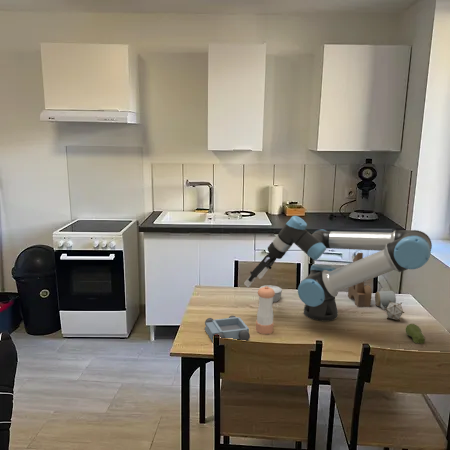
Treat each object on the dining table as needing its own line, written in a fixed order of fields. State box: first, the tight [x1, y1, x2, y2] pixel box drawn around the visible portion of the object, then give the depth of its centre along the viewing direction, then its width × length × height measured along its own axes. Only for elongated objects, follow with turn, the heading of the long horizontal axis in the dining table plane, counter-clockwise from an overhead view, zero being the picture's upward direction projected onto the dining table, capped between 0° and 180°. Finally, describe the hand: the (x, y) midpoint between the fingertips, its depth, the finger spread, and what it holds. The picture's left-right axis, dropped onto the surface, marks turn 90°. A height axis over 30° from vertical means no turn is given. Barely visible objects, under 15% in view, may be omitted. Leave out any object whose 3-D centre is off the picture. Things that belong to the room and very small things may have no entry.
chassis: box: [204, 315, 251, 343], centre depth 175 cm, size 15×16×4 cm
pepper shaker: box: [255, 285, 275, 335], centre depth 178 cm, size 7×7×19 cm
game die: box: [384, 300, 406, 322], centre depth 193 cm, size 9×8×10 cm
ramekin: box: [258, 284, 283, 303], centre depth 214 cm, size 11×11×5 cm
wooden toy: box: [347, 252, 373, 308], centre depth 212 cm, size 16×7×25 cm, turn 4°
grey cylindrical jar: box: [374, 290, 397, 312], centre depth 207 cm, size 11×8×8 cm
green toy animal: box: [404, 323, 426, 344], centre depth 175 cm, size 6×5×10 cm
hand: (252, 281), depth 195 cm, fingers open, 13 cm apart
